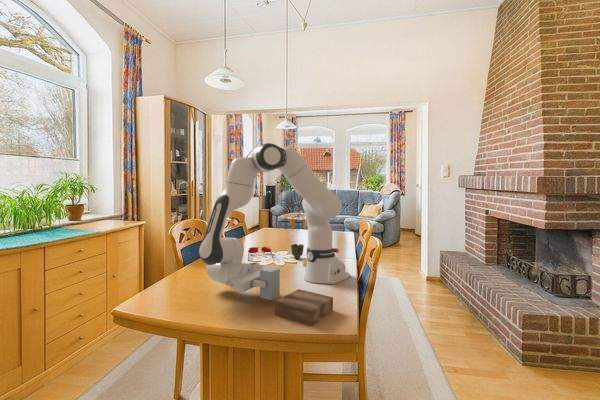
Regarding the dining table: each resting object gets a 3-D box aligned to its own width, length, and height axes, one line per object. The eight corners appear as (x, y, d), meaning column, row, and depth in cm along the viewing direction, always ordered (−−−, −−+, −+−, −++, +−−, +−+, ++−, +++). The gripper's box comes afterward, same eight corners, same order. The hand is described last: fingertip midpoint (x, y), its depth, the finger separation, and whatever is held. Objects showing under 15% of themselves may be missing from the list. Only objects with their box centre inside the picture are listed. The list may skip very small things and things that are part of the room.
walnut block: (298, 302, 113) (298, 289, 113) (332, 311, 106) (333, 297, 105) (274, 316, 101) (275, 301, 101) (311, 327, 94) (311, 311, 94)
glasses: (271, 254, 188) (271, 246, 188) (273, 261, 172) (273, 252, 172) (247, 255, 186) (247, 246, 186) (248, 261, 170) (248, 252, 170)
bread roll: (300, 264, 166) (300, 257, 165) (316, 263, 168) (316, 256, 168) (305, 268, 158) (305, 260, 158) (321, 267, 161) (322, 259, 160)
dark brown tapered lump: (305, 257, 179) (305, 244, 179) (301, 260, 172) (301, 246, 172) (292, 256, 181) (292, 243, 181) (288, 259, 174) (289, 245, 174)
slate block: (260, 297, 110) (259, 269, 110) (268, 293, 115) (268, 266, 114) (271, 300, 108) (271, 272, 107) (279, 295, 112) (279, 268, 111)
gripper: (222, 274, 108) (253, 281, 101) (258, 261, 126) (287, 266, 119) (222, 292, 109) (253, 300, 102) (258, 276, 126) (287, 282, 119)
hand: (271, 281), depth 110 cm, fingers closed on slate block, 5 cm apart
